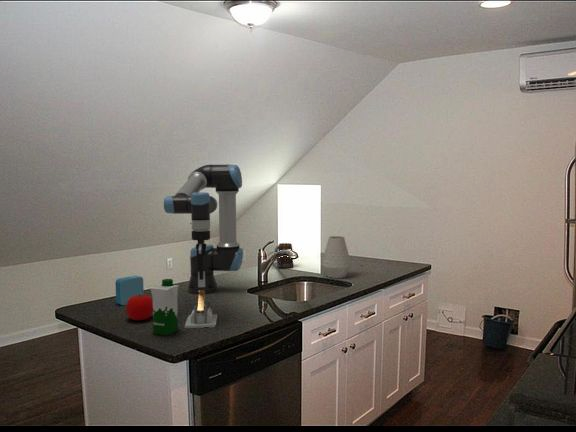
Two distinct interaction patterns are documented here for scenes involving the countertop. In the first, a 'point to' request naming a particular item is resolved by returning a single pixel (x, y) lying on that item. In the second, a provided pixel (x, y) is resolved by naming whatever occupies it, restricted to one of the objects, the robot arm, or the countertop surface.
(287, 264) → the mug
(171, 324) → the milk carton
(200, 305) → the wooden bar
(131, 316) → the tomato
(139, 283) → the light blue flat block
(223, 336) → the countertop surface
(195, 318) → the base
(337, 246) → the vase
